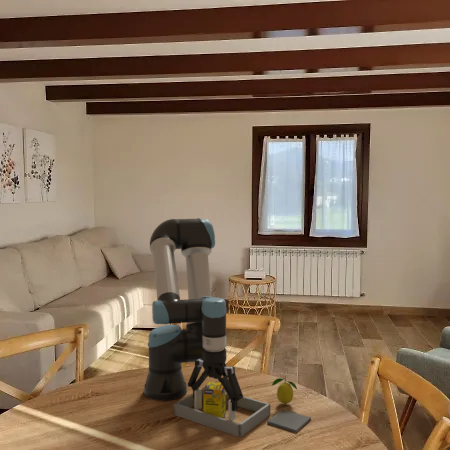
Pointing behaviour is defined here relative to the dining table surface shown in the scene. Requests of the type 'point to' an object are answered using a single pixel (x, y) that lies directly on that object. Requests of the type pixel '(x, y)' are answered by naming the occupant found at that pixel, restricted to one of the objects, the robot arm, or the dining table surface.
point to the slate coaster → (289, 420)
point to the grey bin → (220, 423)
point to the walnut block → (226, 400)
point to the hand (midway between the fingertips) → (214, 414)
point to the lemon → (284, 391)
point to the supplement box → (214, 399)
